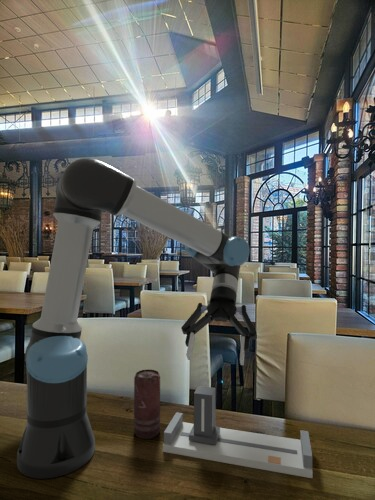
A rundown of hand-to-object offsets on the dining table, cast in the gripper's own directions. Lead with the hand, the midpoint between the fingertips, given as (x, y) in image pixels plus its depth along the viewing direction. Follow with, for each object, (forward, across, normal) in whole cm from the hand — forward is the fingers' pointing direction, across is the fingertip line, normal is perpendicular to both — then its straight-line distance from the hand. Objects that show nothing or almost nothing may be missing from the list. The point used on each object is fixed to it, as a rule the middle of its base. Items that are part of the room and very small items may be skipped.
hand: (214, 360), depth 83 cm
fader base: (+18, -7, -3) cm, 20 cm away
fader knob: (+17, 0, -2) cm, 17 cm away
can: (+18, +14, -4) cm, 23 cm away
